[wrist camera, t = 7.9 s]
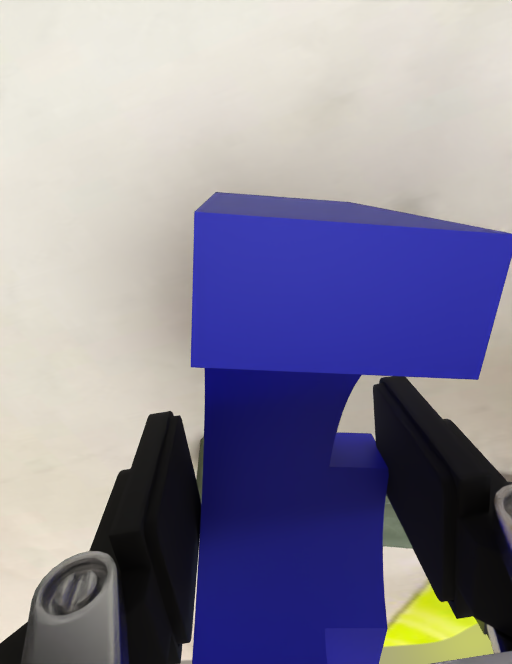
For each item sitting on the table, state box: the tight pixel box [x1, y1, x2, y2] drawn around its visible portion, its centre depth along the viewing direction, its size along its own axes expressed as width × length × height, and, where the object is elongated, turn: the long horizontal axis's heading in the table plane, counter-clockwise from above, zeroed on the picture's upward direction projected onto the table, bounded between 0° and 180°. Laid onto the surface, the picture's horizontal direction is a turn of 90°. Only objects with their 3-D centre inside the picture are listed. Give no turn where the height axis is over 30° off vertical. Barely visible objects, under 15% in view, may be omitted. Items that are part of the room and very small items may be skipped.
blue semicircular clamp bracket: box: [191, 192, 512, 664], centre depth 9 cm, size 12×4×6 cm, turn 176°
